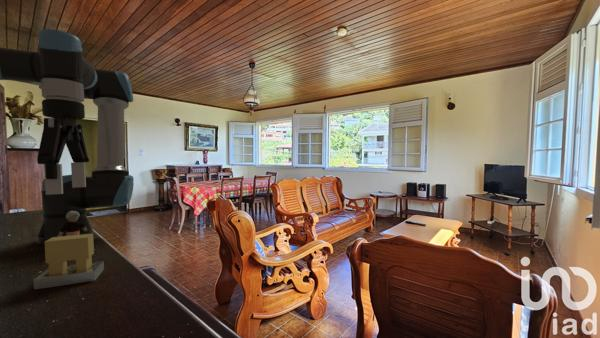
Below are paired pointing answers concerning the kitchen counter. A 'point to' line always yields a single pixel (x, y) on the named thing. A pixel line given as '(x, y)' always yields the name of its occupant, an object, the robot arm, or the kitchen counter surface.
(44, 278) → the grey flat frame
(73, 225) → the grandmother figurine
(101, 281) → the kitchen counter surface
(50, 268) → the yellow notched block
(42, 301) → the kitchen counter surface
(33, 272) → the kitchen counter surface
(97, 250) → the kitchen counter surface
